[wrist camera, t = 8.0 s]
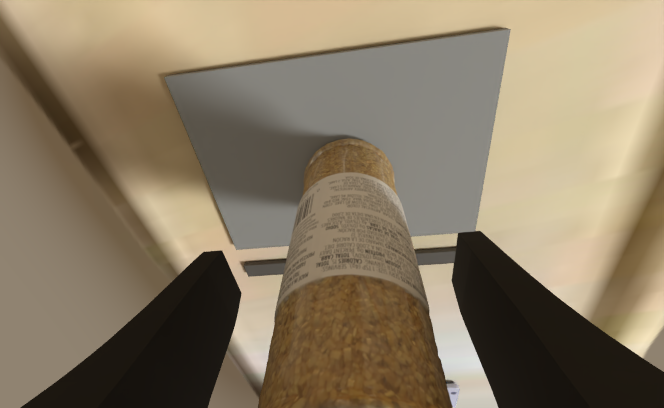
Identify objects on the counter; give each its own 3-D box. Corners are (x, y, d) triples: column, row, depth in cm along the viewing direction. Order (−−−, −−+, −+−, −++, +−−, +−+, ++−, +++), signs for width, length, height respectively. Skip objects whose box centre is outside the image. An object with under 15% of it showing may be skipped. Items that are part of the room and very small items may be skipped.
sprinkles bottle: (356, 226, 17) (377, 645, 6) (286, 184, 16) (153, 631, 5) (413, 168, 15) (606, 658, 4) (339, 114, 14) (317, 641, 3)
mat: (472, 227, 17) (475, 231, 17) (238, 245, 19) (236, 249, 19) (505, 28, 12) (510, 29, 12) (168, 75, 13) (164, 77, 13)
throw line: (467, 258, 19) (468, 261, 19) (249, 273, 20) (248, 276, 20) (469, 246, 18) (471, 250, 18) (245, 262, 20) (243, 265, 20)
